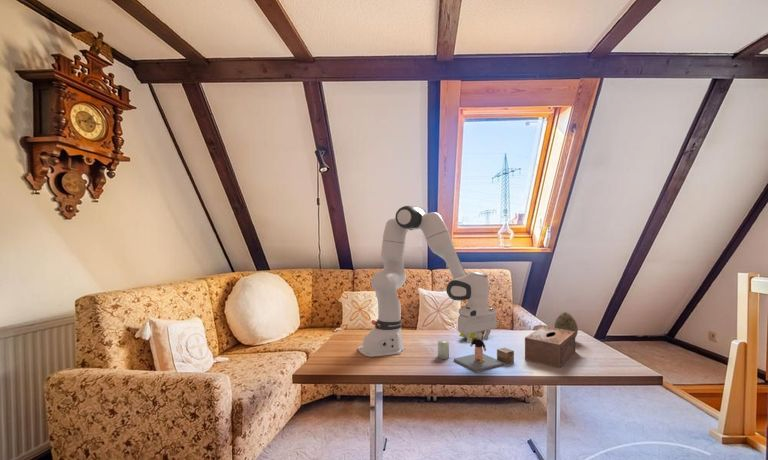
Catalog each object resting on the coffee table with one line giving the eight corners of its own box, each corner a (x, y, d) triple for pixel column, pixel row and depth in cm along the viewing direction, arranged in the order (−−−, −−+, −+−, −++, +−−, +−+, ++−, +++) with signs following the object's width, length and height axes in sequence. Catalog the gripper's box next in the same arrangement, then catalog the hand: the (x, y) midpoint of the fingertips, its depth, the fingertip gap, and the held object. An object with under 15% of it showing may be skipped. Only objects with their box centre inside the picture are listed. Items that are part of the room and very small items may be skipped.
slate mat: (476, 372, 140) (476, 369, 140) (453, 360, 152) (453, 358, 152) (504, 365, 148) (504, 362, 148) (480, 354, 160) (480, 352, 160)
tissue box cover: (543, 345, 174) (543, 326, 174) (575, 352, 164) (575, 331, 164) (524, 359, 154) (524, 337, 154) (559, 368, 145) (559, 344, 145)
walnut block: (505, 364, 149) (505, 352, 149) (497, 360, 153) (497, 349, 153) (513, 362, 151) (513, 350, 151) (504, 358, 156) (504, 347, 156)
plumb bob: (468, 345, 175) (498, 330, 190) (463, 327, 176) (493, 314, 191) (455, 344, 183) (485, 330, 197) (451, 327, 184) (481, 315, 198)
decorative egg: (553, 337, 187) (552, 309, 187) (575, 339, 184) (575, 310, 184) (556, 343, 177) (556, 313, 177) (579, 345, 174) (579, 315, 174)
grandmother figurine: (488, 361, 149) (488, 331, 150) (485, 363, 146) (485, 334, 146) (471, 357, 154) (471, 329, 154) (468, 359, 151) (468, 331, 151)
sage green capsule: (442, 359, 154) (442, 344, 154) (435, 356, 158) (435, 340, 158) (451, 357, 156) (451, 342, 156) (444, 354, 161) (444, 339, 161)
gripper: (490, 305, 158) (489, 335, 158) (455, 310, 148) (455, 342, 148) (500, 308, 152) (500, 339, 152) (465, 313, 143) (464, 346, 143)
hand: (477, 341), depth 150 cm, fingers open, 8 cm apart
